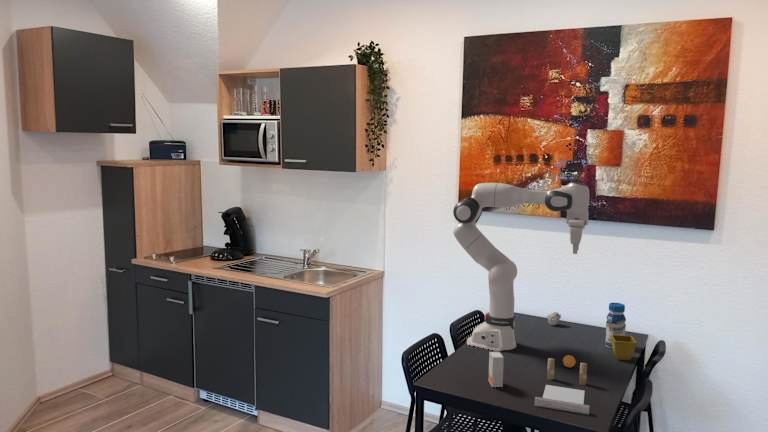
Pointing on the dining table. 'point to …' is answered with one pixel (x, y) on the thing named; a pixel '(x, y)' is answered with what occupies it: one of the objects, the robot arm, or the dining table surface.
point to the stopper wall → (562, 405)
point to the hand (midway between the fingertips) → (575, 251)
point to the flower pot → (623, 346)
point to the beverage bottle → (615, 322)
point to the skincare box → (496, 369)
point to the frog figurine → (553, 318)
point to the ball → (569, 361)
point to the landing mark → (564, 394)
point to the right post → (583, 373)
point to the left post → (550, 369)
